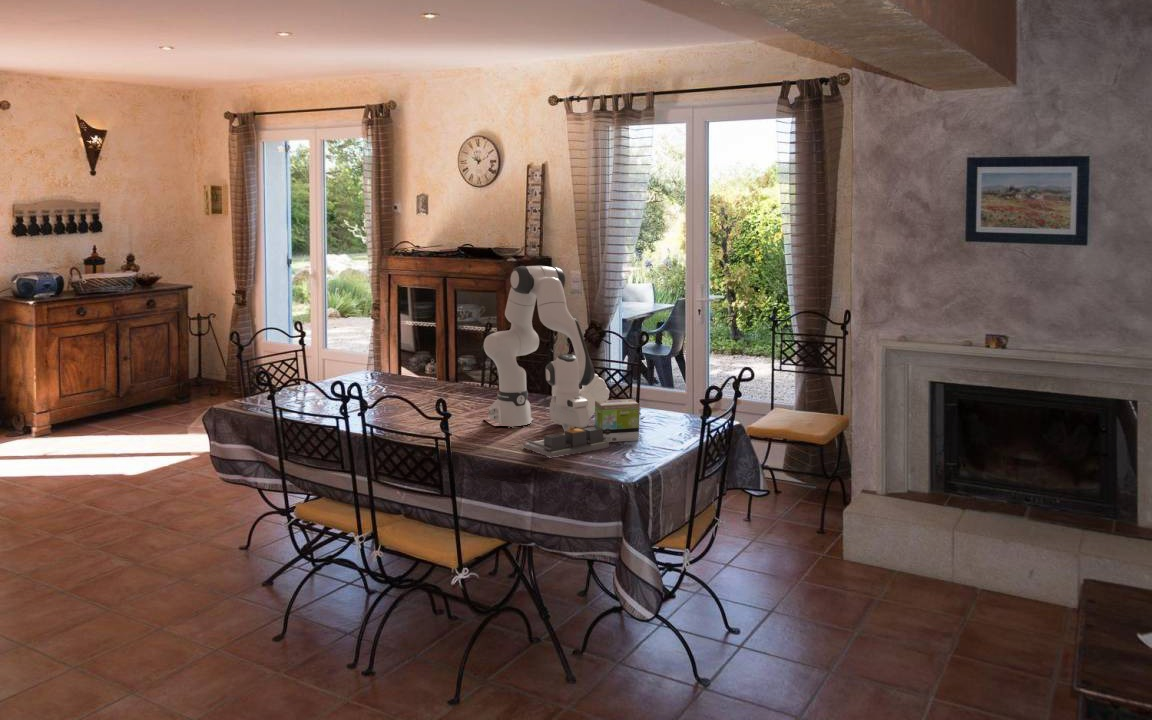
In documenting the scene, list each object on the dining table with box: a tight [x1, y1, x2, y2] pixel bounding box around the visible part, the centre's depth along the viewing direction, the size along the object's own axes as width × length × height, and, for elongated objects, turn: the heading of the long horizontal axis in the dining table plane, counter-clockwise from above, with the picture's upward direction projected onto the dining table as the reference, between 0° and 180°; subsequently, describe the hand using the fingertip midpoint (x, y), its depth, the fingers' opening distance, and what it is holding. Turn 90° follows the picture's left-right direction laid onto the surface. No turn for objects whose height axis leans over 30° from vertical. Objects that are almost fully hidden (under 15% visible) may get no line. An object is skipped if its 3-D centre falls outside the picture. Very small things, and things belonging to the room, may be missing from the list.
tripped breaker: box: [565, 427, 592, 449], centre depth 365 cm, size 9×9×6 cm
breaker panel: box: [523, 425, 610, 457], centre depth 370 cm, size 18×26×7 cm
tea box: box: [594, 398, 640, 443], centre depth 381 cm, size 15×10×15 cm, turn 105°
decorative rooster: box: [551, 373, 610, 426], centre depth 405 cm, size 25×16×25 cm, turn 95°
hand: (568, 435), depth 368 cm, fingers closed
